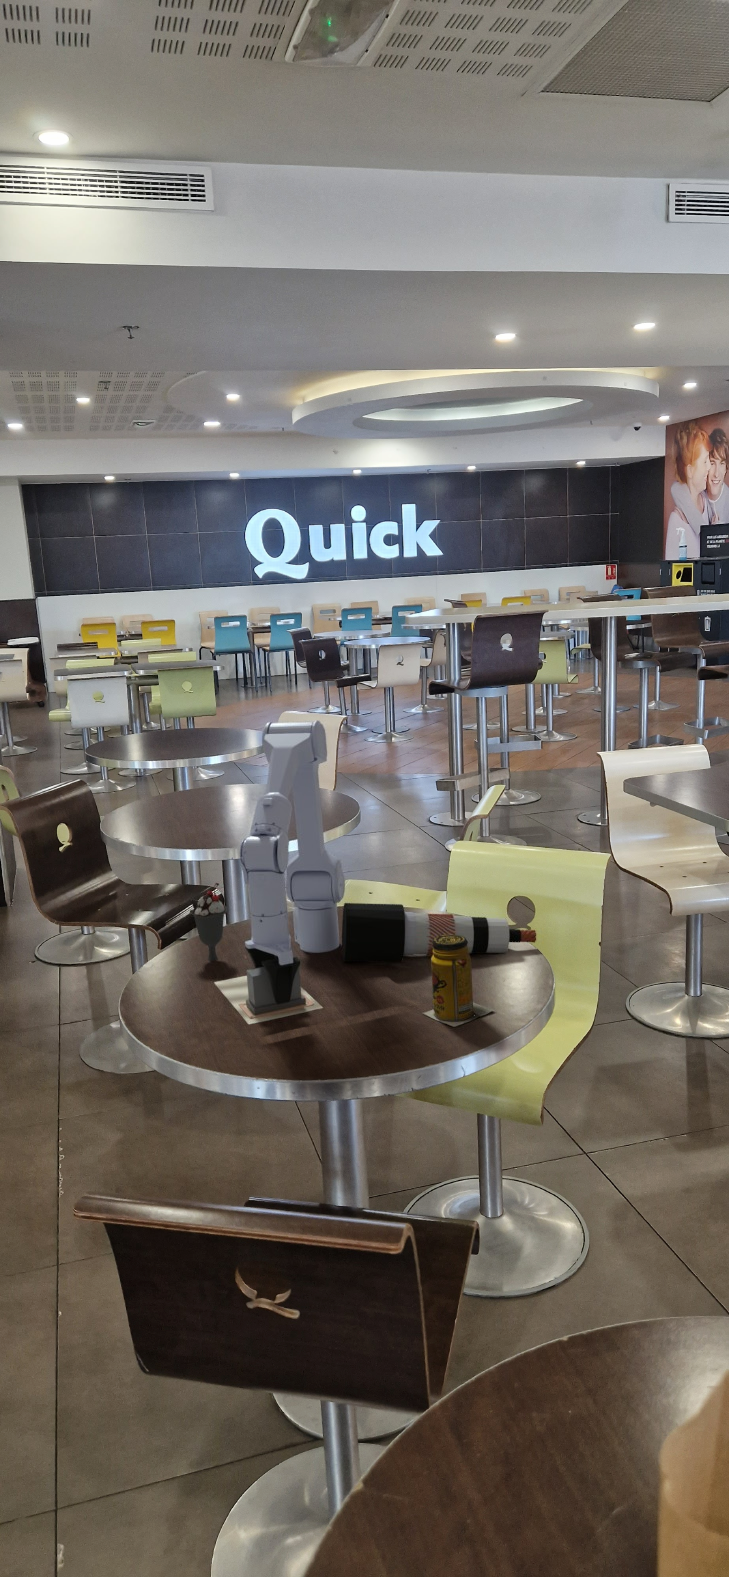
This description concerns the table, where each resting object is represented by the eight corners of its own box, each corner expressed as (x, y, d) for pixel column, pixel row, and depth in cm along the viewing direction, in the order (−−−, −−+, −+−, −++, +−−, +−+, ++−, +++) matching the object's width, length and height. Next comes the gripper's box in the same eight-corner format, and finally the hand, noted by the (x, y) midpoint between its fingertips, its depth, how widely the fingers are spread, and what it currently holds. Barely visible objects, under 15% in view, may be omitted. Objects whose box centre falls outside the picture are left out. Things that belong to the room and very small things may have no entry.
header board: (214, 987, 170) (211, 959, 169) (281, 973, 175) (279, 946, 174) (249, 1030, 152) (246, 999, 151) (323, 1013, 156) (321, 983, 156)
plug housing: (248, 1000, 158) (246, 970, 157) (294, 990, 161) (292, 961, 160) (255, 1007, 155) (252, 976, 154) (301, 997, 158) (299, 967, 157)
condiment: (421, 1014, 154) (417, 939, 152) (462, 999, 159) (459, 926, 157) (453, 1028, 148) (450, 950, 146) (495, 1012, 153) (492, 936, 151)
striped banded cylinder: (534, 977, 179) (545, 936, 173) (342, 973, 176) (347, 932, 170) (524, 935, 187) (534, 895, 181) (341, 931, 184) (345, 890, 178)
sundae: (238, 964, 181) (231, 883, 178) (204, 973, 177) (197, 891, 174) (222, 954, 186) (215, 876, 183) (188, 963, 182) (181, 883, 180)
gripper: (230, 904, 161) (237, 984, 163) (258, 928, 148) (265, 1015, 150) (272, 896, 163) (278, 976, 166) (303, 919, 150) (309, 1006, 153)
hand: (275, 994), depth 158 cm, fingers open, 7 cm apart
